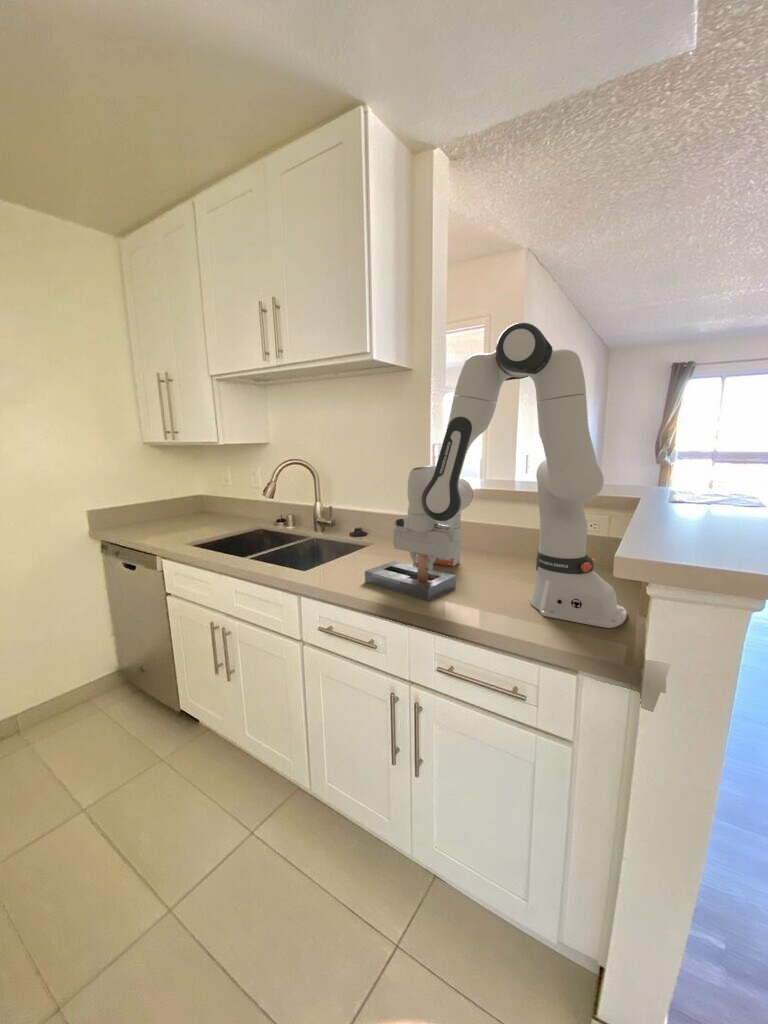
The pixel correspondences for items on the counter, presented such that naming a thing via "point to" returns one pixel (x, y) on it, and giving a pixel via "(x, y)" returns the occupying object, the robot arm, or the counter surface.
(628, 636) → the counter surface
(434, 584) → the keyhole board
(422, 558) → the peg
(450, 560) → the cracker box
